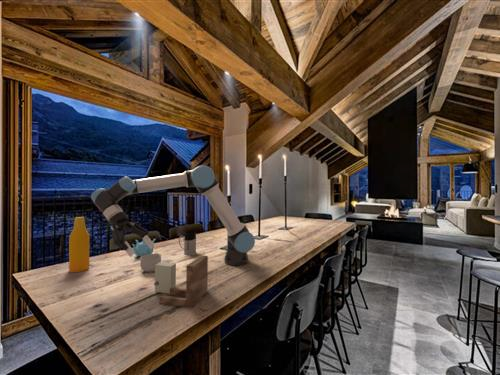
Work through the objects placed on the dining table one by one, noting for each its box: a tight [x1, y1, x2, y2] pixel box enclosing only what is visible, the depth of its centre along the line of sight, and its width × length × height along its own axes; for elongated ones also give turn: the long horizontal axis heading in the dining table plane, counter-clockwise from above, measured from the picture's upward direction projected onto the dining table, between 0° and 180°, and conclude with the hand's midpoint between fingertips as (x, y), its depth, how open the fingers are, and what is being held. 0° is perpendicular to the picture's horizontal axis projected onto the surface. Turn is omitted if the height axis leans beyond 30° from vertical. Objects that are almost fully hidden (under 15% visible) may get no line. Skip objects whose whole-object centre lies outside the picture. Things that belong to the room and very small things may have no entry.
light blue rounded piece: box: [131, 238, 156, 258], centre depth 156 cm, size 13×13×10 cm
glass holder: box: [178, 230, 197, 256], centre depth 160 cm, size 9×14×15 cm, turn 148°
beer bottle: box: [68, 216, 90, 273], centre depth 130 cm, size 9×9×29 cm
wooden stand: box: [159, 254, 209, 308], centre depth 100 cm, size 14×14×16 cm
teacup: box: [139, 252, 162, 273], centre depth 132 cm, size 14×11×8 cm
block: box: [153, 261, 177, 295], centre depth 105 cm, size 8×5×12 cm, turn 76°
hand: (143, 250), depth 108 cm, fingers open, 13 cm apart
